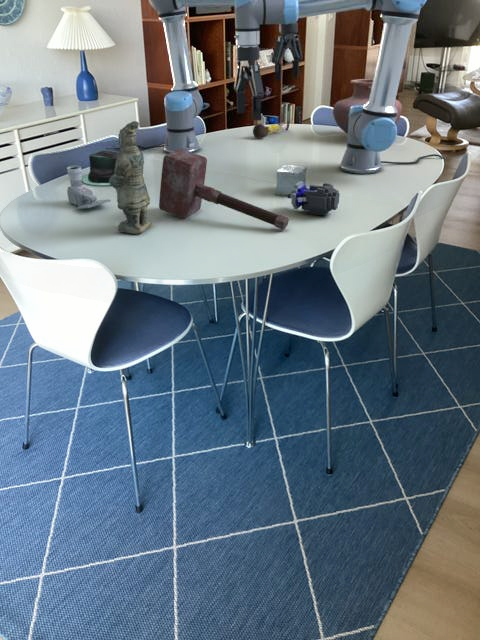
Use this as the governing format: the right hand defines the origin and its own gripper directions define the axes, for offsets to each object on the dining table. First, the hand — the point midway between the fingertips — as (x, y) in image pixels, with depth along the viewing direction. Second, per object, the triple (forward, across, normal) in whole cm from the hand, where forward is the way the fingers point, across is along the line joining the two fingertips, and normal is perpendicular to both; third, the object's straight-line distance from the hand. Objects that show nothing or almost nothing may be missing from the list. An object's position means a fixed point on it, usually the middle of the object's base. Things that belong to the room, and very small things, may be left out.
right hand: (248, 116), depth 186 cm
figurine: (+23, -70, +40) cm, 84 cm away
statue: (+23, +27, -48) cm, 59 cm away
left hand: (-4, -47, +37) cm, 60 cm away
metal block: (+23, +15, +9) cm, 29 cm away
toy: (+23, +36, +6) cm, 43 cm away
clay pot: (+23, -42, +75) cm, 89 cm away
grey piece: (+23, 0, -57) cm, 62 cm away
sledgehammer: (+23, +31, -21) cm, 44 cm away
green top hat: (+23, -30, -45) cm, 58 cm away
